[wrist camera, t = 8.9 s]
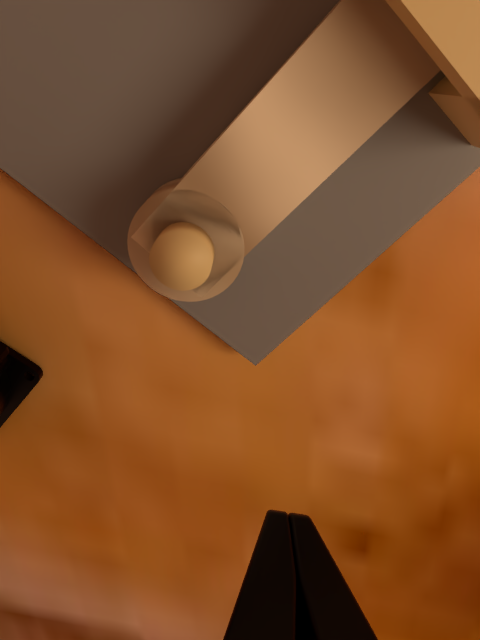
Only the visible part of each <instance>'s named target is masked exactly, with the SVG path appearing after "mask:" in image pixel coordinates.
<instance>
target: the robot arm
mask: <svg viewBox="0 0 480 640" xmlns="http://www.w3.org/2000/svg"><path fill="white" fill-rule="evenodd" d="M28 372H30V373H32V374H33V375H34V376H32V375H30V374H29V373H28ZM42 376H43V371H42V369H41V368H40V367H39V366H38V365H36V364H35V363H33V362H32V361H30V360H29V359H27V358H25V357H24V356H22V355H21V354H19V353H18V352H16V351H15V350H13V349H12V348H10V347H8V346H7V345H5V344H4V343H2V342H1V341H0V427H1V426H2V425H3V424H4V422H5V421H6V420H7V419H8V418H9V416H10V415H11V414H12V413H13V412H14V410H15V409H16V408H17V407H18V406H19V405H20V403H21V402H22V401H23V400H24V399H25V397H26V396H27V395H28V394H29V393H30V391H31V390H32V389H33V388H34V387H35V385H36V384H37V383H38V382H39V380H40V379H41V378H42ZM223 640H378V639H377V637H376V635H375V633H374V632H373V630H372V628H371V626H370V624H369V623H368V621H367V619H366V617H365V615H364V614H363V612H362V610H361V608H360V606H359V605H358V603H357V601H356V599H355V597H354V596H353V594H352V592H351V590H350V588H349V587H348V585H347V583H346V581H345V579H344V578H343V576H342V574H341V572H340V570H339V568H338V567H337V565H336V563H335V561H334V559H333V558H332V556H331V554H330V552H329V550H328V549H327V547H326V545H325V543H324V541H323V540H322V538H321V536H320V534H319V532H318V531H317V529H316V527H315V525H314V523H313V522H312V520H311V518H310V517H309V516H307V515H303V514H297V513H289V514H287V513H286V512H283V511H276V510H268V511H267V513H266V516H265V519H264V522H263V525H262V528H261V531H260V534H259V537H258V540H257V543H256V545H255V548H254V551H253V554H252V557H251V560H250V563H249V566H248V569H247V572H246V575H245V578H244V580H243V583H242V586H241V589H240V592H239V595H238V598H237V601H236V604H235V607H234V610H233V613H232V615H231V618H230V621H229V624H228V627H227V630H226V633H225V636H224V639H223Z"/></svg>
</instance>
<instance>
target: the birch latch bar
mask: <svg viewBox="0 0 480 640" xmlns="http://www.w3.org/2000/svg"><path fill="white" fill-rule="evenodd" d="M440 70H441V69H440V68H439V67H438V66H437V64H436V63H435V62H434V61H433V59H432V58H431V57H430V56H429V54H428V53H427V52H426V51H425V49H424V48H423V47H422V46H421V44H420V43H419V42H418V41H417V39H416V38H415V37H414V36H413V34H412V33H411V32H410V31H409V29H408V28H407V27H406V26H405V24H404V23H403V22H402V21H401V19H400V18H399V17H398V16H397V14H396V13H395V12H394V11H393V9H392V8H391V7H390V6H389V4H388V3H387V2H386V1H385V0H340V1H339V2H338V3H337V4H336V5H335V6H334V8H333V9H332V10H331V11H330V12H329V13H328V14H327V15H326V17H325V18H324V19H323V20H322V21H321V22H320V23H319V24H318V26H317V27H316V28H315V29H314V30H313V31H312V32H311V33H310V35H309V36H308V37H307V38H306V39H305V40H304V41H303V42H302V43H301V45H300V46H299V47H298V48H297V49H296V50H295V51H294V52H293V54H292V55H291V56H290V57H289V58H288V59H287V60H286V61H285V63H284V64H283V65H282V66H281V67H280V68H279V69H278V70H277V72H276V73H275V74H274V75H273V76H272V77H271V78H270V79H269V81H268V82H267V83H266V84H265V85H264V86H263V87H262V88H261V90H260V91H259V92H258V93H257V94H256V95H255V96H254V97H253V99H252V100H251V101H250V102H249V103H248V104H247V105H246V106H245V108H244V109H243V110H242V111H241V112H240V113H239V114H238V115H237V117H236V118H235V119H234V120H233V121H232V122H231V123H230V124H229V126H228V127H227V128H226V129H225V130H224V131H223V132H222V133H221V135H220V136H219V137H218V138H217V139H216V140H215V141H214V142H213V144H212V145H211V146H210V147H209V148H208V149H207V150H206V151H205V152H204V154H203V155H202V156H201V157H200V158H199V159H198V160H197V161H196V163H195V164H194V165H193V166H192V167H191V168H190V169H189V170H188V172H187V173H186V174H185V175H184V176H183V177H182V178H178V179H175V180H172V181H169V182H167V183H165V184H164V185H162V186H161V187H159V188H158V189H157V190H156V191H155V192H154V193H153V194H152V195H151V196H150V197H149V198H148V199H147V200H146V202H145V203H144V204H143V205H142V206H141V207H140V208H139V210H138V211H137V212H136V214H135V215H134V217H133V219H132V221H131V224H130V227H129V231H128V238H127V245H128V253H129V257H130V260H131V263H132V265H133V267H134V269H135V271H136V272H137V274H138V275H139V277H140V278H141V279H142V280H143V281H144V282H145V283H146V284H147V285H148V286H149V287H150V288H151V289H153V290H154V291H156V292H157V293H159V294H161V295H163V296H165V297H167V298H170V299H174V300H178V301H185V302H196V301H202V300H206V299H209V298H212V297H214V296H216V295H218V294H220V293H221V292H223V291H224V290H225V289H227V288H228V287H229V286H230V285H231V284H232V283H233V281H234V280H235V279H236V277H237V276H238V274H239V272H240V270H241V267H242V264H243V259H244V257H245V256H246V255H247V254H248V253H249V252H250V251H251V250H252V249H253V248H254V247H255V246H256V245H257V244H258V243H259V242H260V241H261V240H263V239H264V238H265V237H266V236H267V235H268V234H269V233H270V232H271V231H272V230H273V229H274V228H275V227H276V226H277V225H278V224H279V223H280V222H281V221H282V220H284V219H285V218H286V217H287V216H288V215H289V214H290V213H291V212H292V211H293V210H294V209H295V208H296V207H297V206H298V205H299V204H300V203H301V202H302V201H304V200H305V199H306V198H307V197H308V196H309V195H310V194H311V193H312V192H313V191H314V190H315V189H316V188H317V187H318V186H319V185H320V184H321V183H322V182H324V181H325V180H326V179H327V178H328V177H329V176H330V175H331V174H332V173H333V172H334V171H335V170H336V169H337V168H338V167H339V166H340V165H341V164H342V163H343V162H345V161H346V160H347V159H348V158H349V157H350V156H351V155H352V154H353V153H354V152H355V151H356V150H357V149H358V148H359V147H360V146H361V145H362V144H363V143H365V142H366V141H367V140H368V139H369V138H370V137H371V136H372V135H373V134H374V133H375V132H376V131H377V130H378V129H379V128H380V127H381V126H382V125H383V124H385V123H386V122H387V121H388V120H389V119H390V118H391V117H392V116H393V115H394V114H395V113H396V112H397V111H398V110H399V109H400V108H401V107H402V106H403V105H405V104H406V103H407V102H408V101H409V100H410V99H411V98H412V97H413V96H414V95H415V94H416V93H417V92H418V91H419V90H420V89H421V88H422V87H423V86H424V85H426V84H427V83H428V82H429V81H430V80H431V79H432V78H433V77H434V76H435V75H436V74H437V73H438V72H439V71H440ZM178 222H188V223H192V224H195V225H197V226H199V227H201V228H202V229H203V230H205V231H206V232H207V234H208V235H209V236H210V238H211V240H212V242H213V245H214V250H215V254H214V260H213V264H212V268H211V272H210V274H209V276H208V278H207V279H206V281H205V282H204V283H203V284H202V285H200V286H199V287H197V288H194V289H192V290H186V291H180V290H174V289H171V288H169V287H167V286H165V285H163V284H162V283H161V282H160V281H158V279H157V278H156V277H155V276H154V274H153V272H152V270H151V268H150V264H149V254H150V250H151V248H152V246H153V244H154V242H155V241H156V239H157V238H158V236H159V234H160V233H161V232H162V231H163V230H164V229H165V228H166V227H167V226H169V225H171V224H174V223H178Z"/></svg>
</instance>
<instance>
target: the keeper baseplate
mask: <svg viewBox="0 0 480 640" xmlns="http://www.w3.org/2000/svg"><path fill="white" fill-rule="evenodd" d="M339 1H340V0H0V168H1V169H2V170H3V171H5V172H6V173H7V174H8V175H10V176H11V177H12V178H14V179H15V180H16V181H18V182H19V183H20V184H21V185H23V186H24V187H25V188H27V189H28V190H29V191H30V192H32V193H33V194H34V195H36V196H37V197H38V198H40V199H41V200H42V201H43V202H45V203H46V204H47V205H49V206H50V207H51V208H52V209H54V210H55V211H56V212H58V213H59V214H60V215H61V216H63V217H64V218H65V219H67V220H68V221H69V222H71V223H72V224H73V225H74V226H76V227H77V228H78V229H80V230H81V231H82V232H83V233H85V234H86V235H87V236H89V237H90V238H91V239H93V240H94V241H95V242H96V243H98V244H99V245H100V246H102V247H103V248H104V249H105V250H107V251H108V252H109V253H111V254H112V255H113V256H115V257H116V258H117V259H118V260H120V261H121V262H122V263H124V264H125V265H126V266H127V267H129V268H130V269H131V270H133V271H134V272H135V273H137V272H136V271H135V269H134V267H133V265H132V263H131V260H130V257H129V253H128V245H127V238H128V231H129V227H130V224H131V221H132V219H133V217H134V215H135V214H136V212H137V211H138V210H139V208H140V207H141V206H142V205H143V204H144V203H145V202H146V200H147V199H148V198H149V197H150V196H151V195H152V194H153V193H154V192H155V191H156V190H157V189H158V188H159V187H161V186H162V185H164V184H165V183H167V182H169V181H172V180H175V179H178V178H182V177H183V176H184V175H185V174H186V173H187V172H188V170H189V169H190V168H191V167H192V166H193V165H194V164H195V163H196V161H197V160H198V159H199V158H200V157H201V156H202V155H203V154H204V152H205V151H206V150H207V149H208V148H209V147H210V146H211V145H212V144H213V142H214V141H215V140H216V139H217V138H218V137H219V136H220V135H221V133H222V132H223V131H224V130H225V129H226V128H227V127H228V126H229V124H230V123H231V122H232V121H233V120H234V119H235V118H236V117H237V115H238V114H239V113H240V112H241V111H242V110H243V109H244V108H245V106H246V105H247V104H248V103H249V102H250V101H251V100H252V99H253V97H254V96H255V95H256V94H257V93H258V92H259V91H260V90H261V88H262V87H263V86H264V85H265V84H266V83H267V82H268V81H269V79H270V78H271V77H272V76H273V75H274V74H275V73H276V72H277V70H278V69H279V68H280V67H281V66H282V65H283V64H284V63H285V61H286V60H287V59H288V58H289V57H290V56H291V55H292V54H293V52H294V51H295V50H296V49H297V48H298V47H299V46H300V45H301V43H302V42H303V41H304V40H305V39H306V38H307V37H308V36H309V35H310V33H311V32H312V31H313V30H314V29H315V28H316V27H317V26H318V24H319V23H320V22H321V21H322V20H323V19H324V18H325V17H326V15H327V14H328V13H329V12H330V11H331V10H332V9H333V8H334V6H335V5H336V4H337V3H338V2H339ZM385 1H386V2H387V3H388V4H389V6H390V7H391V8H392V9H393V11H394V12H395V13H396V14H397V16H398V17H399V18H400V19H401V21H402V22H403V23H404V24H405V26H406V27H407V28H408V29H409V31H410V32H411V33H412V34H413V36H414V37H415V38H416V39H417V41H418V42H419V43H420V44H421V46H422V47H423V48H424V49H425V51H426V52H427V53H428V54H429V56H430V57H431V58H432V59H433V61H434V62H435V63H436V64H437V66H438V67H439V68H440V69H441V70H440V71H439V72H438V73H437V74H436V75H435V76H434V77H433V78H432V79H431V80H430V81H429V82H428V83H427V84H426V85H424V86H423V87H422V88H421V89H420V90H419V91H418V92H417V93H416V94H415V95H414V96H413V97H412V98H411V99H410V100H409V101H408V102H407V103H406V104H405V105H403V106H402V107H401V108H400V109H399V110H398V111H397V112H396V113H395V114H394V115H393V116H392V117H391V118H390V119H389V120H388V121H387V122H386V123H385V124H383V125H382V126H381V127H380V128H379V129H378V130H377V131H376V132H375V133H374V134H373V135H372V136H371V137H370V138H369V139H368V140H367V141H366V142H365V143H363V144H362V145H361V146H360V147H359V148H358V149H357V150H356V151H355V152H354V153H353V154H352V155H351V156H350V157H349V158H348V159H347V160H346V161H345V162H343V163H342V164H341V165H340V166H339V167H338V168H337V169H336V170H335V171H334V172H333V173H332V174H331V175H330V176H329V177H328V178H327V179H326V180H325V181H324V182H322V183H321V184H320V185H319V186H318V187H317V188H316V189H315V190H314V191H313V192H312V193H311V194H310V195H309V196H308V197H307V198H306V199H305V200H304V201H302V202H301V203H300V204H299V205H298V206H297V207H296V208H295V209H294V210H293V211H292V212H291V213H290V214H289V215H288V216H287V217H286V218H285V219H284V220H282V221H281V222H280V223H279V224H278V225H277V226H276V227H275V228H274V229H273V230H272V231H271V232H270V233H269V234H268V235H267V236H266V237H265V238H264V239H263V240H261V241H260V242H259V243H258V244H257V245H256V246H255V247H254V248H253V249H252V250H251V251H250V252H249V253H248V254H247V255H246V256H245V257H244V259H243V264H242V267H241V270H240V272H239V274H238V276H237V277H236V279H235V280H234V281H233V283H232V284H231V285H230V286H229V287H228V288H227V289H225V290H224V291H223V292H221V293H220V294H218V295H216V296H214V297H212V298H209V299H206V300H202V301H196V302H185V301H178V300H174V299H170V298H169V299H170V300H171V301H173V302H174V303H175V304H177V305H178V306H179V307H180V308H182V309H183V310H184V311H186V312H187V313H188V314H190V315H191V316H192V317H193V318H195V319H196V320H197V321H199V322H200V323H201V324H202V325H204V326H205V327H206V328H208V329H209V330H210V331H212V332H213V333H214V334H215V335H217V336H218V337H219V338H221V339H222V340H223V341H224V342H226V343H227V344H228V345H230V346H231V347H232V348H233V349H235V350H236V351H237V352H239V353H240V354H241V355H243V356H244V357H245V358H246V359H248V360H249V361H250V362H252V363H253V364H254V365H255V366H256V365H257V364H258V363H259V362H260V361H261V360H262V359H264V358H265V357H266V356H267V355H268V354H269V353H270V352H271V351H273V350H274V349H275V348H276V347H277V346H278V345H279V344H280V343H282V342H283V341H284V340H285V339H286V338H287V337H288V336H289V335H291V334H292V333H293V332H294V331H295V330H296V329H297V328H298V327H300V326H301V325H302V324H303V323H304V322H305V321H306V320H307V319H309V318H310V317H311V316H312V315H313V314H314V313H315V312H316V311H318V310H319V309H320V308H321V307H322V306H323V305H324V304H325V303H327V302H328V301H329V300H330V299H331V298H332V297H333V296H334V295H336V294H337V293H338V292H339V291H340V290H341V289H342V288H343V287H345V286H346V285H347V284H348V283H349V282H350V281H351V280H352V279H354V278H355V277H356V276H357V275H358V274H359V273H360V272H361V271H363V270H364V269H365V268H366V267H367V266H368V265H369V264H370V263H372V262H373V261H374V260H375V259H376V258H377V257H378V256H379V255H381V254H382V253H383V252H384V251H385V250H386V249H387V248H388V247H390V246H391V245H392V244H393V243H394V242H395V241H396V240H397V239H399V238H400V237H401V236H402V235H403V234H404V233H405V232H406V231H408V230H409V229H410V228H411V227H412V226H413V225H414V224H415V223H417V222H418V221H419V220H420V219H421V218H422V217H423V216H424V215H426V214H427V213H428V212H429V211H430V210H431V209H432V208H433V207H435V206H436V205H437V204H438V203H439V202H440V201H441V200H442V199H444V198H445V197H446V196H447V195H448V194H449V193H450V192H451V191H453V190H454V189H455V188H456V187H457V186H458V185H459V184H460V183H462V182H463V181H464V180H465V179H466V178H467V177H468V176H469V175H471V174H472V173H473V172H474V171H475V170H476V169H477V168H478V167H480V0H385ZM214 254H215V250H214V245H213V242H212V240H211V238H210V236H209V235H208V234H207V232H206V231H205V230H203V229H202V228H201V227H199V226H197V225H195V224H192V223H188V222H178V223H174V224H171V225H169V226H167V227H166V228H165V229H164V230H163V231H162V232H161V233H160V234H159V236H158V238H157V239H156V241H155V242H154V244H153V246H152V248H151V250H150V254H149V264H150V268H151V270H152V272H153V274H154V276H155V277H156V278H157V279H158V281H160V282H161V283H162V284H163V285H165V286H167V287H169V288H171V289H174V290H180V291H186V290H192V289H194V288H197V287H199V286H200V285H202V284H203V283H204V282H205V281H206V279H207V278H208V276H209V274H210V272H211V268H212V264H213V260H214Z"/></svg>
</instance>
